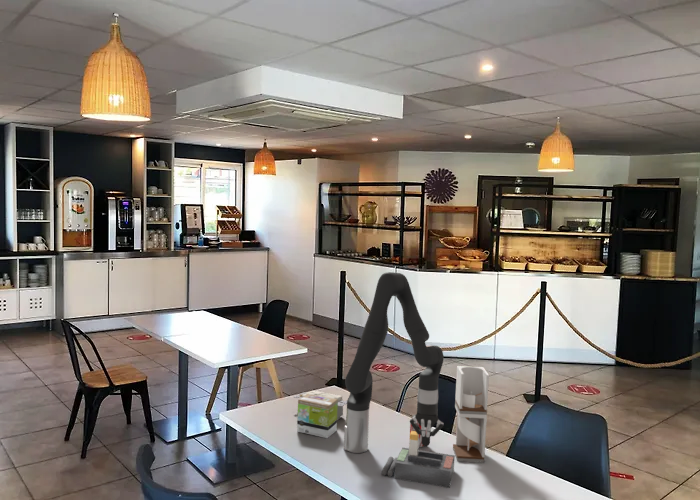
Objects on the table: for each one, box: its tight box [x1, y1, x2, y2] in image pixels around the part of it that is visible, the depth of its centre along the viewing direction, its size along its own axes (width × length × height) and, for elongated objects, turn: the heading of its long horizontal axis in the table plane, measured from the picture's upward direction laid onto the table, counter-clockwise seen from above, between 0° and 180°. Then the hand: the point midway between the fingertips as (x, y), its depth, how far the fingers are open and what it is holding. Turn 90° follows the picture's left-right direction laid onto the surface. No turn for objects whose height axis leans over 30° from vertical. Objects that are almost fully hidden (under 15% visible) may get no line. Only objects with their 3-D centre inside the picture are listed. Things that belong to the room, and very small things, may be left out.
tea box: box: [296, 394, 338, 439], centre depth 252 cm, size 15×10×15 cm
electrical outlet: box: [293, 390, 347, 421], centre depth 271 cm, size 12×28×10 cm, turn 55°
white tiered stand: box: [452, 365, 490, 463], centre depth 232 cm, size 11×11×35 cm
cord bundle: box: [381, 456, 398, 477], centre depth 219 cm, size 4×14×2 cm, turn 164°
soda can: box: [409, 414, 427, 448], centre depth 241 cm, size 7×7×12 cm
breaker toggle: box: [408, 431, 420, 456], centre depth 215 cm, size 3×3×9 cm
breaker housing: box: [394, 447, 456, 489], centre depth 215 cm, size 20×14×8 cm
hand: (425, 445), depth 214 cm, fingers closed
